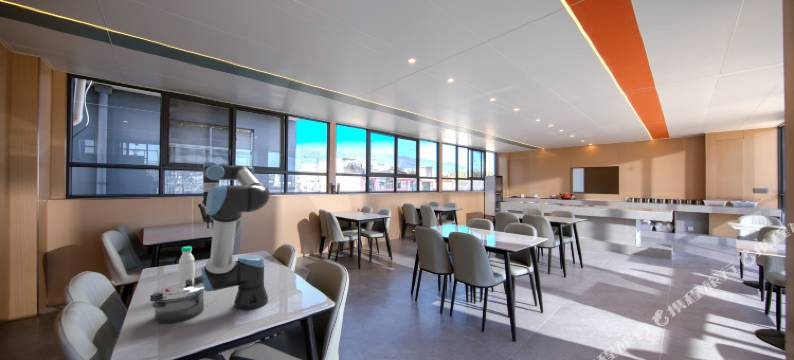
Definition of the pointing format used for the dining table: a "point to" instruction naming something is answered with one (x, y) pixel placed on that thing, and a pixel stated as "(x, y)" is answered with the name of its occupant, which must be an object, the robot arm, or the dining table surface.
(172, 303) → the pot
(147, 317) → the dining table surface
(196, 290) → the lid
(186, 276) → the water bottle
